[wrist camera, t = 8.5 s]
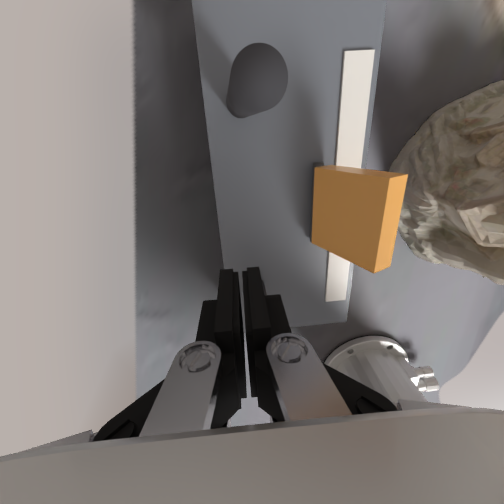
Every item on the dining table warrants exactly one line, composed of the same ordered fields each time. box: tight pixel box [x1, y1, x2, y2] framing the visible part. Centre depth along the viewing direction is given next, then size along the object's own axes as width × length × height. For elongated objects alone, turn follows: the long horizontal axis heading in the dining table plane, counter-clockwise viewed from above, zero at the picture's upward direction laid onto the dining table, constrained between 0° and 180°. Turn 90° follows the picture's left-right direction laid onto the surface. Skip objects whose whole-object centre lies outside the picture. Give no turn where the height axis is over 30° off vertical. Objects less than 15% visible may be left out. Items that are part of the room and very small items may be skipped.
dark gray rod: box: [226, 43, 288, 118], centre depth 14 cm, size 2×2×10 cm
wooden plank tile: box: [310, 162, 408, 273], centre depth 19 cm, size 2×6×7 cm, turn 1°
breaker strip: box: [191, 0, 387, 333], centre depth 24 cm, size 12×26×6 cm, turn 3°
